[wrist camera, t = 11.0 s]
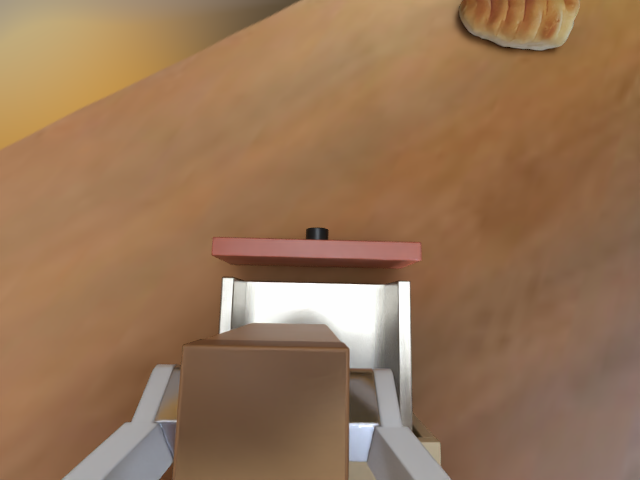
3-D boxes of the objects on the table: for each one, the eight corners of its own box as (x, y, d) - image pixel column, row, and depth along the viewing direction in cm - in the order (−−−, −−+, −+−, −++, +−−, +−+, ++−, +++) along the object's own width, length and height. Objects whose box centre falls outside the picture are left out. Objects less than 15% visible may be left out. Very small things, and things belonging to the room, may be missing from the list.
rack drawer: (232, 234, 30) (213, 218, 25) (400, 238, 31) (421, 223, 25) (221, 417, 28) (198, 447, 22) (402, 420, 28) (425, 450, 23)
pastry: (458, 54, 34) (476, 23, 30) (453, -12, 35) (469, -50, 32) (562, 54, 34) (592, 23, 31) (553, -12, 36) (581, -49, 32)
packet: (325, 409, 17) (348, 544, 7) (246, 408, 17) (166, 544, 7) (327, 323, 17) (350, 347, 8) (250, 322, 17) (181, 344, 8)
